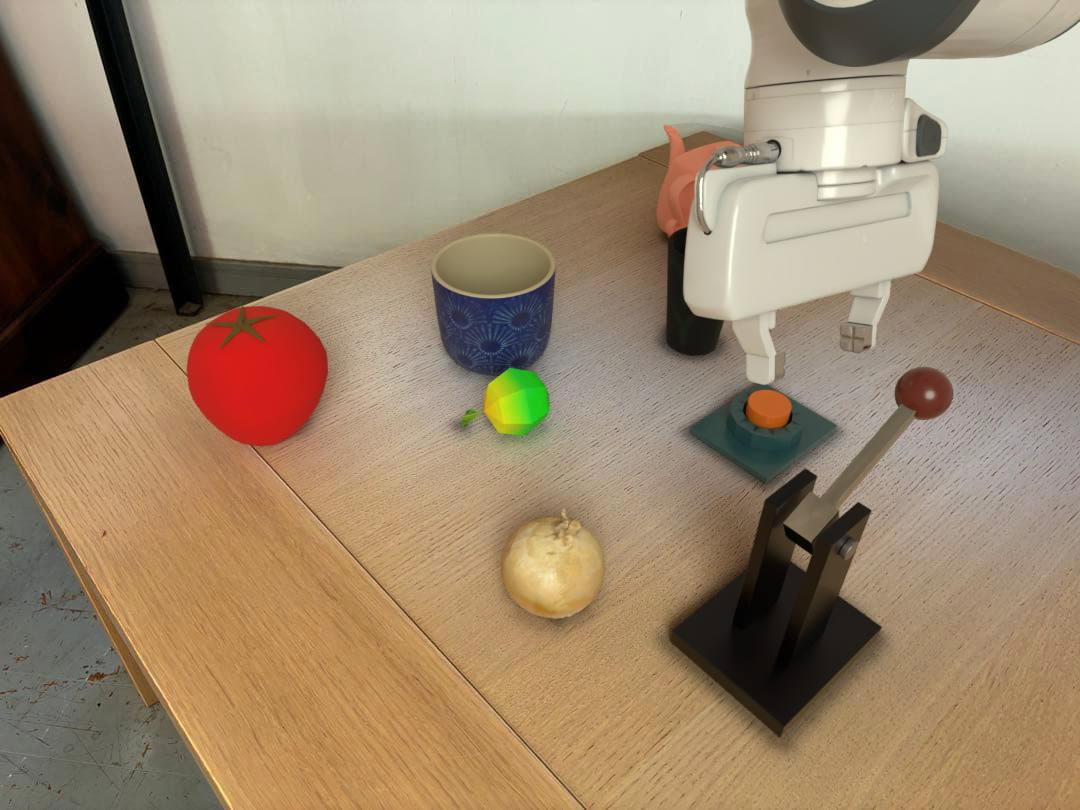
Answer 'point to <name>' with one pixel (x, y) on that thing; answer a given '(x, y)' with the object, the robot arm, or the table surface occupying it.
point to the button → (768, 409)
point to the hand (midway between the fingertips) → (813, 364)
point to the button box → (762, 436)
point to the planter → (494, 301)
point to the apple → (514, 402)
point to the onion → (553, 566)
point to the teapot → (681, 181)
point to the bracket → (783, 616)
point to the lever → (871, 453)
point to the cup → (685, 308)
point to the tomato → (257, 374)
